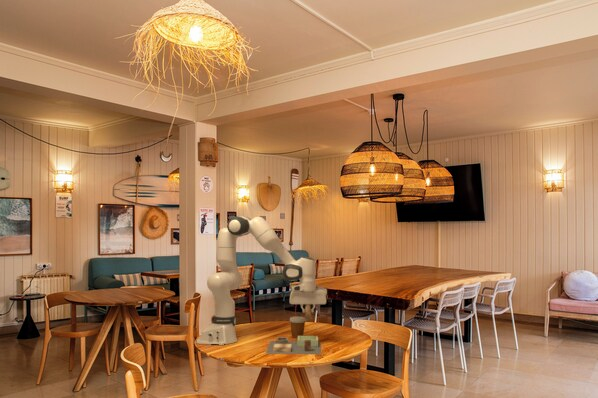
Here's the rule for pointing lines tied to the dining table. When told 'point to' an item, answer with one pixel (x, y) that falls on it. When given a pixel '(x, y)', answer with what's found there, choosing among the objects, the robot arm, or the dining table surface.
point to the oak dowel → (307, 312)
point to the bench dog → (307, 345)
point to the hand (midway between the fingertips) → (307, 312)
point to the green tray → (302, 339)
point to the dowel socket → (281, 340)
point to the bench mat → (294, 349)
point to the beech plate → (282, 348)
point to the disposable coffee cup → (297, 326)
